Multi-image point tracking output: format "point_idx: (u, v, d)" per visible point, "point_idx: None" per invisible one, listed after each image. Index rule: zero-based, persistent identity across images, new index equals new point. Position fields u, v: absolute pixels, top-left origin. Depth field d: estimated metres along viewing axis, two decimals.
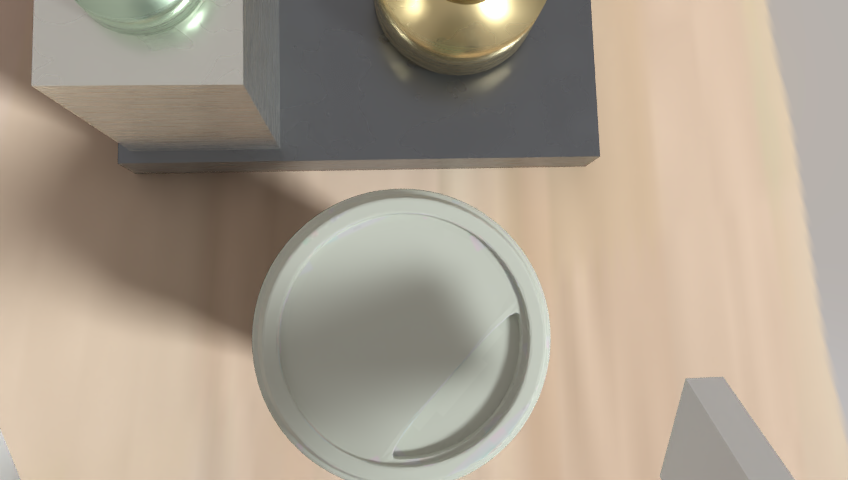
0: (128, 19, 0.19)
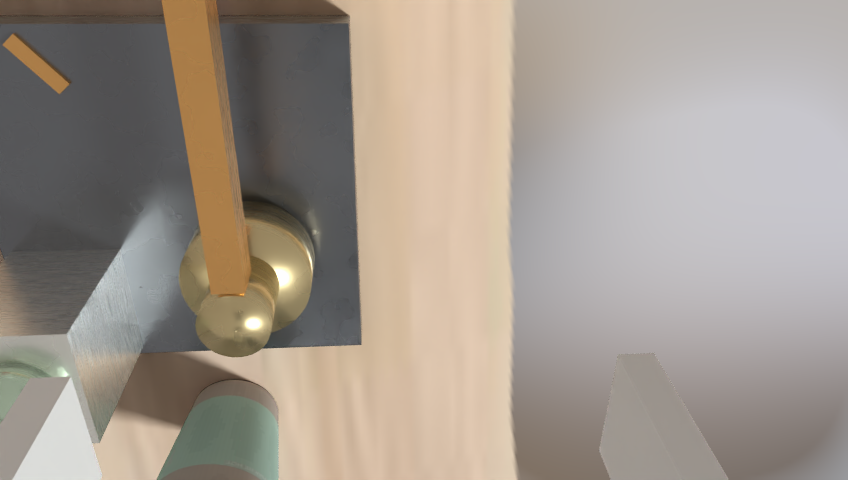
0: None
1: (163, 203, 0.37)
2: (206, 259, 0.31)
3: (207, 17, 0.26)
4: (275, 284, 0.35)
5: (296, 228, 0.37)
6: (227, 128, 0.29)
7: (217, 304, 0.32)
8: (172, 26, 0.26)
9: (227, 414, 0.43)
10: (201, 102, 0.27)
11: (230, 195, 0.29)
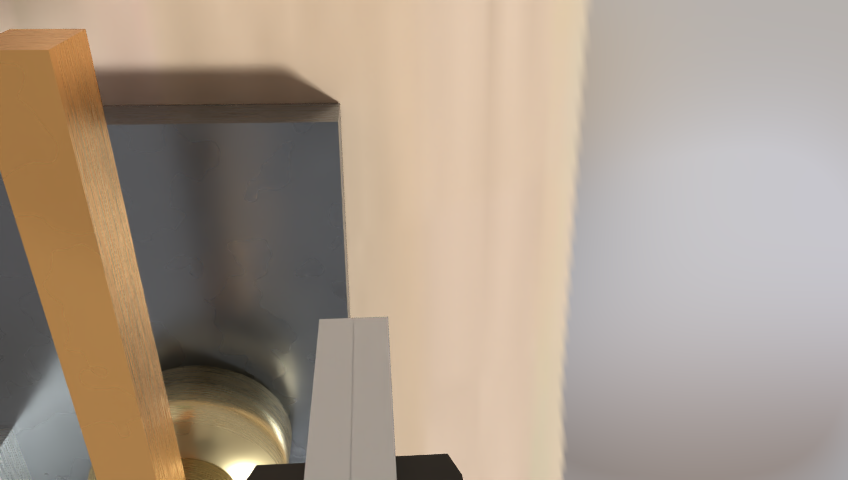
0: None
1: None
2: None
3: (77, 159, 0.14)
4: None
5: (263, 405, 0.26)
6: (133, 320, 0.17)
7: None
8: (13, 176, 0.14)
9: None
10: (79, 294, 0.16)
11: (140, 426, 0.18)
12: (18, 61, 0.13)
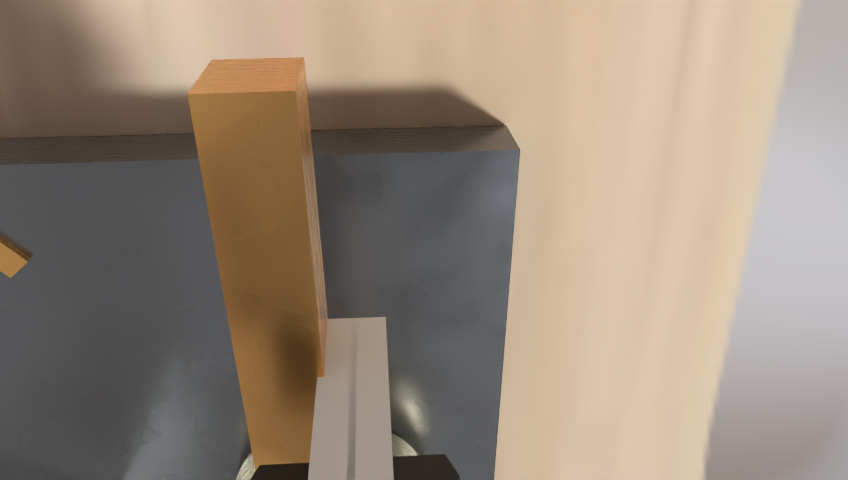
0: None
1: (190, 426, 0.23)
2: None
3: (308, 223, 0.11)
4: None
5: None
6: None
7: None
8: (229, 246, 0.11)
9: None
10: (287, 381, 0.13)
11: None
12: (255, 106, 0.10)
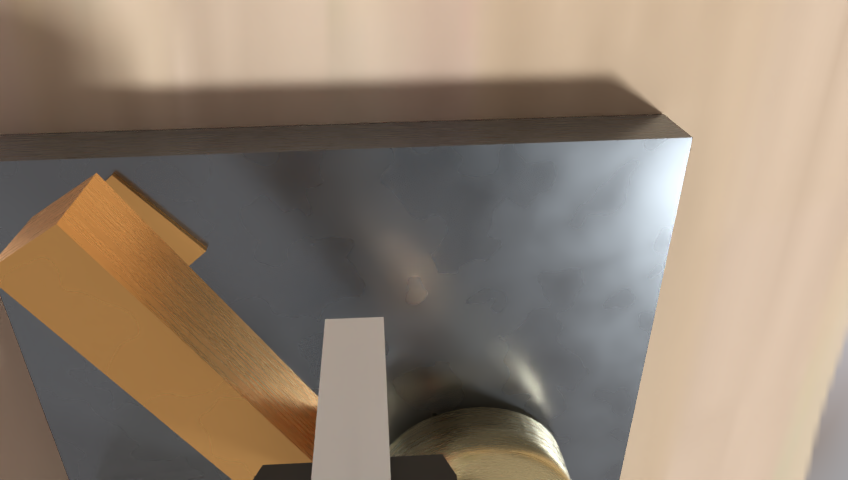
0: None
1: None
2: None
3: (161, 317, 0.12)
4: None
5: (511, 430, 0.22)
6: None
7: None
8: (114, 367, 0.12)
9: None
10: (250, 445, 0.13)
11: None
12: (38, 253, 0.11)
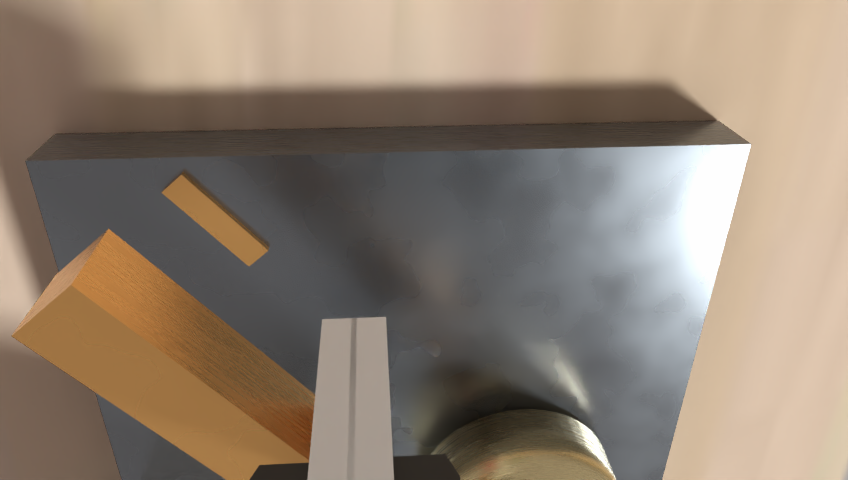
0: None
1: None
2: None
3: (179, 360, 0.12)
4: None
5: (548, 430, 0.23)
6: None
7: None
8: (142, 411, 0.13)
9: None
10: None
11: None
12: (58, 313, 0.12)
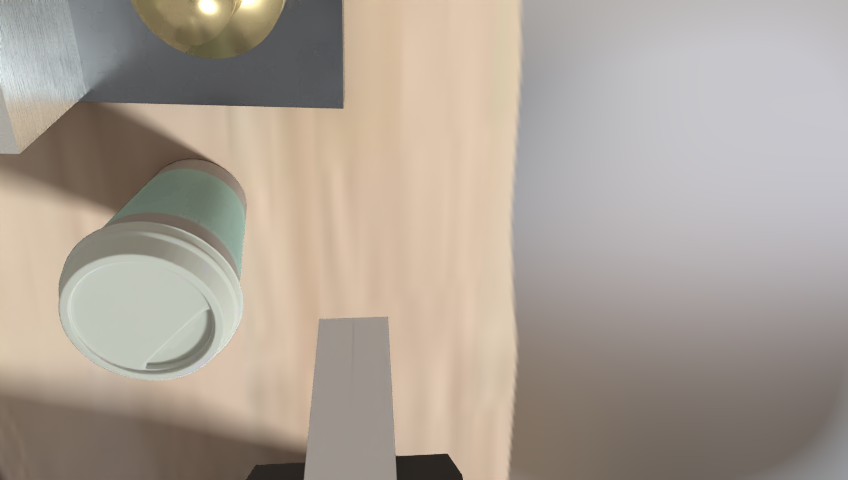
0: None
1: None
2: None
3: None
4: None
5: None
6: None
7: None
8: None
9: (184, 181, 0.37)
10: None
11: None
12: None
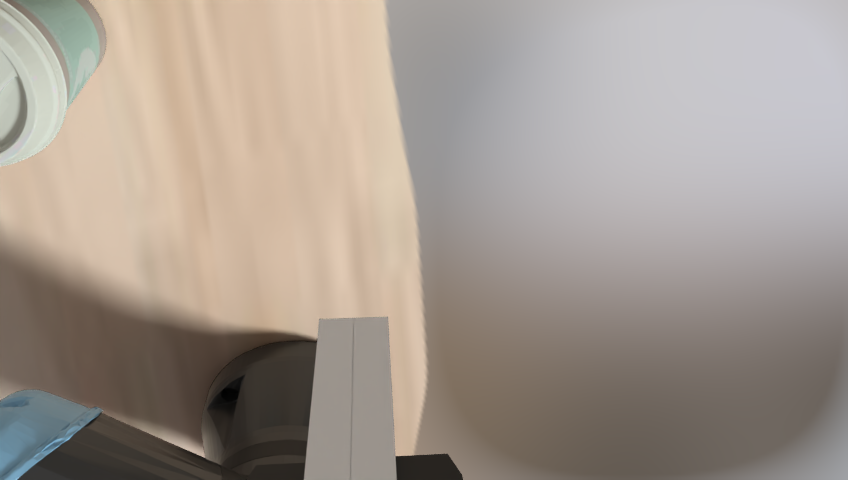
0: None
1: None
2: None
3: None
4: None
5: None
6: None
7: None
8: None
9: None
10: None
11: None
12: None
